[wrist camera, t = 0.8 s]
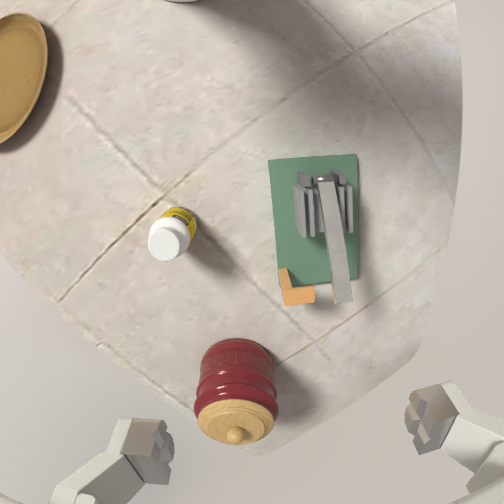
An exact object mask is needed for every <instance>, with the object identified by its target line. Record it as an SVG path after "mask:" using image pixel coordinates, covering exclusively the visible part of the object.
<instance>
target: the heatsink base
mask: <svg viewBox="0 0 504 504" xmlns="http://www.w3.org/2000/svg"><path fill="white" fill-rule="evenodd" d="M268 164H269V174H270V184H271V194H272V204H273V215H274V226H275V237H276V249H277V261H278V273H279V269H281V268H287V271H288V274H289V278H290V282H291V285H292V286H298V285H306V284H314V283H323V282H331V274H330V267H329V259H328V252H327V245H326V238H325V232H324V225H323V219H322V213H321V207H320V201H319V195H318V189H317V186H313V185H312V175H321V174H337V178H338V183H337V185H335V190H336V195H337V201H338V206H339V212H340V217H341V223H342V229H343V235H344V241H345V248H346V254H347V261H348V268H349V276H350V279H354V278H358V250H359V209H358V175H357V155H355V154H351V155H330V156H314V157H300V158H287V159H276V160H268ZM279 285H280V280H279ZM280 287H281V286H280Z"/></svg>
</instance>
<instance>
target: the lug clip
mask: <svg viewBox="0 0 504 504" xmlns="http://www.w3.org/2000/svg"><path fill="white" fill-rule="evenodd" d="M279 280H280V286H281V291H282V295H283V300H284V305H297V304H306V303H314V302H315V295H314V286H306V287H298V288H292V285H291V282H290V278H289V274H288V271H287V268H281V269H279Z"/></svg>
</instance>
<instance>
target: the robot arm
mask: <svg viewBox="0 0 504 504" xmlns="http://www.w3.org/2000/svg"><path fill="white" fill-rule="evenodd" d="M168 1H173V2H191V1H197V0H168ZM409 400H410V402H411V403H410V404H409V406H408V407H407V408H406V411H405V423H406V427H407V429H408V432H410V433H411V434H413V435H415V436H414V439H413V443H414V445H415V447H416V449H417V451H418V453H419V455H421V454H424V453H427V452H430V451H433V450H436V449H439V448H440V449H441V450H442V451H443V452H445V453H446V454H447V455H449V456H450V457H452V458H453V459H455V460H456V461H458V462H459V463H461V464H462V465H463V466H465V467H466V468H468V469H469V470H471V471H472V472H474V473H475V474H474V476H473V477H472V478H471V479H470V481H469V482H468V484H467V486H466V487H467V489H468V491H469V493H470V494H469V495H467V496H465V497H463V498H461V499H459V500H456V501H454V502H452V503H450V504H504V421H503V420H501V419H498V418H496V417H494V416H491V415H489V414H487V413H485V412H483V411H480V410H478V409H476V408H475V409H472V408H471V407H470V406H469V404H468V402H467V401H466V400H465V398H464V397H463V395H462V394H461V392H460V391H459V389H458V388H457V387H456V385H455V384H454V382H453V381H451V380H448V381H445V382H442V383H439V384H435V385H432V386H429V387H425V388H422V389H418V390H415V391H413V392H412V393H411V394H410V398H409ZM166 430H167V426H166V423H165V421H164V420H152V419H140V418H128V417H121V418H120V419H119V420H118V422H117V424H116V427H115V430H114V432H113V435H112V437H111V440H110V443H109V446H108V448H107V451H106V452H101V453H100V454H99V455H97V456H96V457H95V458H93V459H92V460H91V461H89V462H88V463H86V464H85V465H84V466H82V467H81V468H80V469H78V470H77V471H76V472H74V473H73V474H71V475H70V476H68V477H67V478H66V479H64V480H63V481H62V482H60V483H59V484H57V485H56V488H55V490H54V492H53V495H52V497H51V500H50V502H49V504H127V503H128V502H129V501H130V500H131V499H132V497H133V496H134V495H135V494H136V493H137V492H138V491H139V490H140V489H141V488H142V487H143V486H144V485H145V484H144V483H149V484H162V485H168V483H169V478H170V473H171V469H170V467H169V465H168V463H170V462H171V461H172V460H173V457H174V442H173V438H172V436H171V434H169V433H168V432H166ZM0 504H22V503H20V502H18V501H16V500H13V499H11V498H9V497H7V496H5V495H3V494H1V493H0Z"/></svg>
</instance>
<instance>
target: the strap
mask: <svg viewBox="0 0 504 504" xmlns="http://www.w3.org/2000/svg"><path fill="white" fill-rule="evenodd" d="M337 183H338V178H337V174H321V175H312V185H313V186H317V189H318V195H319V201H320V207H321V213H322V219H323V225H324V232H325V238H326V245H327V252H328V259H329V267H330V274H331V282H332V290H333V298H334V304H337V303H344V302H351V301H353V299H352V291H351V283H350V276H349V268H348V261H347V254H346V248H345V241H344V235H343V229H342V223H341V217H340V212H339V206H338V201H337V195H336V190H335V185H337Z"/></svg>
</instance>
